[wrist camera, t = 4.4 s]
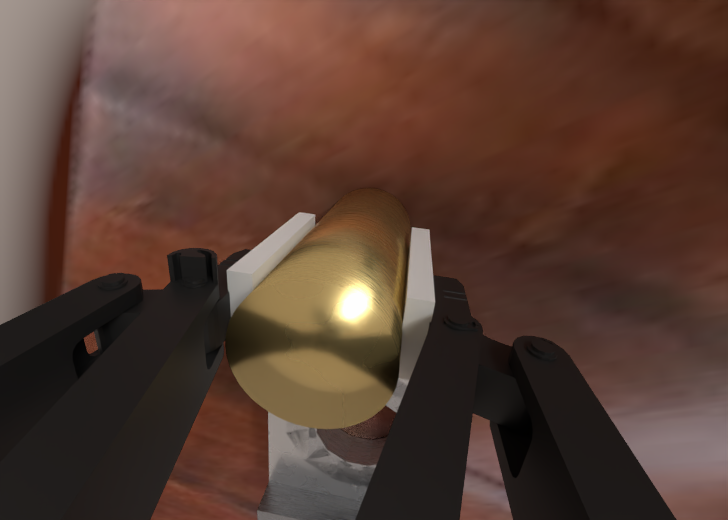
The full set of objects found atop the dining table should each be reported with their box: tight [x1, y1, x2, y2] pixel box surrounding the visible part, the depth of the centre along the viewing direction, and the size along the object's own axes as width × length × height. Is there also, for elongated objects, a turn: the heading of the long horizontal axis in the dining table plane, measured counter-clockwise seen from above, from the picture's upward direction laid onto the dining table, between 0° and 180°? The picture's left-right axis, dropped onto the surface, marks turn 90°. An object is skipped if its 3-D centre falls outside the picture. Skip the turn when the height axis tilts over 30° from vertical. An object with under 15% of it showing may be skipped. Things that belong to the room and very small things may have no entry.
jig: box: [257, 378, 409, 520], centre depth 22 cm, size 15×12×4 cm
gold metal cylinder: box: [226, 188, 411, 429], centre depth 14 cm, size 4×4×11 cm
